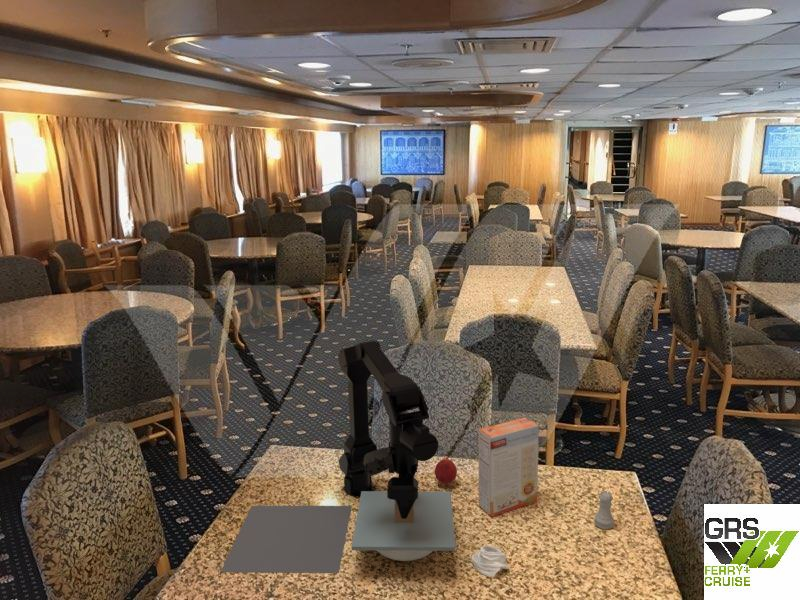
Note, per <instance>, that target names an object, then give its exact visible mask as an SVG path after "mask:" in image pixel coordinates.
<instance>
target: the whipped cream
mask: <svg viewBox="0 0 800 600" xmlns="http://www.w3.org/2000/svg"><path fill="white" fill-rule="evenodd" d="M506 561H507V554H506V553H502V551H501V549H499V548H497V547H495V546H493V545H488V544H487V545H481V546H480V550H479V551H476V552H475V553H473V554H472V556H471V563H472V565H473V566H474V568H475V569H476V570H477V572H479V573H480V574H481V575H484V576H486V577H488V578H495V576H496V574H498V572H500V570H501V569H506V570H508V569H510V566H509V565H507V563H506Z"/></svg>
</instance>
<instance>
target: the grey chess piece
mask: <svg viewBox="0 0 800 600" xmlns="http://www.w3.org/2000/svg"><path fill="white" fill-rule="evenodd" d="M597 497H598V499H599V501H598V503H599V504H598V505H599V507H598V512H597V513H596V514H595V516H594V520H593V522H594V525H595V526H596V527H597V528H599V529H602V530H610V529H612V528H613V527H614V526H615V524H614V523H615V520H614V519H615V518H614V517H613V514H612V511H611V506H613V504H612V501H613V500H614V497H613V496H612V493H611V492H610V491H608V492H607V490H602V491H600V492H599V494H598V496H597Z"/></svg>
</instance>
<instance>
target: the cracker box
mask: <svg viewBox="0 0 800 600" xmlns="http://www.w3.org/2000/svg"><path fill="white" fill-rule="evenodd" d="M477 431H478V435H477V437H478V438H477V439H478V440H477V441H478V445H477V446H478V449H477V451H478V507H480V508H481V509H482V511H484V512H485V513H487V515H488V516H490V517H494V516H498V515H500V514H503V513H506V512H510V511H513V510H515V509H519V508H522V507H525V506H529V505H531V504H534V503H537V502H538V483H539V482H538V480H539V439H540V438H539V434H540V426H539V424H537V423H535V422H534V421H532V420H530V419H529V418H527V417H525V416H524V417H521V418H517V419H512V420H509V421H506V422H502V423H501V422H500V423H497V424H494V425H490V426H485V427H481V428H478V430H477Z"/></svg>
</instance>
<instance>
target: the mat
mask: <svg viewBox="0 0 800 600" xmlns="http://www.w3.org/2000/svg"><path fill="white" fill-rule="evenodd" d="M352 507H353V506H352V505H251V506H250V509H249V510H248V512H247V515H246V516H245V519H244V521H243V523H242V525H241V527H240V529H239V532H238V534H237V535H236V538H235V540H234V541H233V544H232V547H230V551H229V553H228V554H227V557H226V559H225V561H224V563H223V566H222V567H221V570H220V573H249V574H250V573H256V574H257V573H261V574H262V573H263V574H265V573H266V574H268V573H269V574H270V573H272V574H274V573H275V574H279V573H281V574H285V573H286V574H339V573H340V569H341V563H342V558H343V552H344V548H345V547H344V546H345V543H346V537H347V534H348V533H347V531H348V528H349V523H350V518H351V511H352V509H353V508H352Z"/></svg>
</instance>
